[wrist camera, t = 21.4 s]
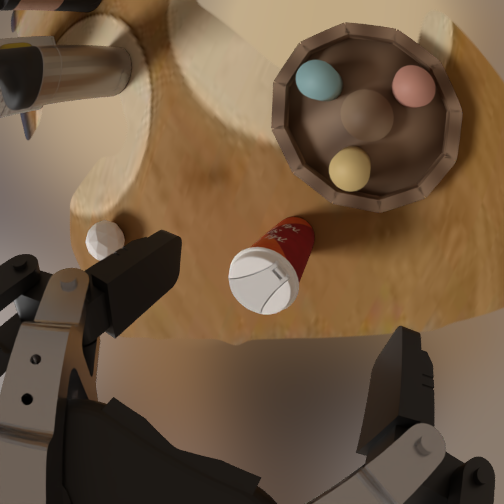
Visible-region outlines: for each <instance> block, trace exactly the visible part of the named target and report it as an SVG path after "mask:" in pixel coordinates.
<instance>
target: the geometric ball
mask: <svg viewBox="0 0 504 504" xmlns="http://www.w3.org/2000/svg"><path fill="white" fill-rule="evenodd" d="M124 242H125V239H124V235H123V232H122V231H121V229H120V228H119V227H118V225H117V224H116V223H113V222H110V221H107V220H103V221H101V222H98V223H96V224H94V225H93V226H92V227H91V229H90V230H89V231H88V234H87V238H86V245H87V248H88V251H89V253H90V254H91V255H92V256H93V257H94V258H96V259H97V260H102V259H104V258H106V257H107V256H109V255H110V254H112V253H113V254H114V252H115V251H117V250H118V249H120V248H121V249H122V247H123V246H124Z"/></svg>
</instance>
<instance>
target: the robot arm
mask: <svg viewBox="0 0 504 504" xmlns="http://www.w3.org/2000/svg"><path fill="white" fill-rule="evenodd" d="M130 74H131V59H130V56H129V54H128V53H127V51H126V50H125V49H123V48H120V47H108V46H92V45H44V46H28V47H18V48H8V49H0V89H1V93H2V96H3V100H4V102H5V104H6V105H7V107H8V108H9V109H11V110H21V109H26V108H31V107H36V106H41V105H46V104H52V103H58V102H65V101H73V100H80V99H89V98H98V97H110V96H115V95H117V94H119V93H120V92H121V91H122V90H123V89H124V88H125V86H126V85H127V83H128V81H129V78H130ZM181 246H182V240H181V238H180V237H179V236H177V235H174V234H172V233H169V232H167V231H164V230H160V231H158V232H156V233H154V234H153V235H151V236H150V237H148V238H147V237H145V238H141V239H137V240H134V241H131V242H130V243H128V244H127V245H125V246H123V247H122V249H121V248H120V249H118V250H117V251H115V252H114V254H113V253H112V254H110V255H109V256H107V257H106V258H104V259H102V260H101V261H99V262H98V263H96V264H95V265H93V266H91V267H90V268H88V269H87V270H85V271H83V270H81V269H77V268H66V269H63V270H60V271H58V272H56V273H55V274H50V273H47V272H43V271H40V269H39V265H38V260H37V258H36V257H34V256H33V255H30V254H22V255H18V256H15V257H13V258H11V259H10V260H8V261H6V262H5V263H3V264H2V265H0V311H1V310H3V308H5V307H6V306H7V305H9V304H10V303H11V302H14V304H15V307H16V310H17V313H16V314H15V315H14V316H13V317H11V318H10V319H9V320H8V321H6V322H5V323H4V324H3V325H2V326H0V377H1V376H2V375H3V374H4V373H5V372H6V374H5V378H4V381H3V385H2V390H1V394H0V504H277V503H276V502H275V501H274V499H273V498H272V497H271V496H270V495H268V494H267V493H266V492H265V491H264V490H263V489H261V488H260V487H258V486H257V485H258V483H259V481H260V479H261V477H259V476H256V475H254V474H251V473H249V472H246V471H244V470H242V469H239V468H237V467H235V466H232V465H230V464H228V463H226V462H224V461H222V460H218V459H213V458H209V457H205V456H201V455H197V454H193V453H190V452H186V451H182V450H179V449H177V448H175V447H174V446H173V445H171V444H170V443H169V442H168V441H167V440H166V439H165V438H164V437H163V436H162V435H161V434H160V433H159V432H158V431H157V430H156V429H155V428H154V427H153V426H152V425H151V424H150V423H149V422H148V421H147V420H146V419H145V418H144V417H142V416H141V415H139V414H137V413H136V412H134V411H133V410H132V409H130V408H129V407H127V406H125V405H124V404H122V403H121V402H119V401H118V400H117V399H115V398H114V397H113V398H112V399H111V400H110V402H109V403H108V404H105V403H102V402H98V396H97V389H96V379H97V367H98V357H99V348H100V335H101V334H102V333H104V332H106V333H108V334H109V335H111V336H112V337H114V338H116V337H117V336H119V335H120V334H121V333H122V332H123V331H124V330H125V329H126V328H128V327H129V326H130V325H131V324H132V323H133V322H134V321H135V320H136V319H137V318H139V317H140V316H141V315H142V314H143V313H144V312H145V311H146V310H148V309H149V308H150V307H151V306H152V305H153V304H154V303H155V302H157V301H158V300H159V299H160V298H161V297H162V296H163V295H164V294H166V293H167V292H168V291H169V290H170V289H171V288H172V287H173V286H174V285H175V283H176V281H177V279H178V276H179V272H180V258H181ZM433 388H434V380H433V364H432V362H431V360H430V357H429V356H428V353H427V352H426V351H423V350H421V337H420V333H419V332H416V331H413V330H411V329H408V328H405V327H403V326H399V327H398V328H397V329H396V330H395V332H394V333H393V335H392V336H391V338H390V339H389V341H388V343H387V344H386V345H385V347H384V349H383V350H382V352H381V353H380V354H379V356H378V358H377V359H376V362H375V364H374V366H373V369H372V373H371V379H370V386H369V392H368V398H367V403H366V409H365V414H364V419H363V424H362V428H361V433H360V438H359V442H358V446H357V450H356V453H359V454H363V455H366V456H367V457H366V462H365V464H364V465H362V466H361V467H360V468H358V469H357V470H356V471H354V472H353V473H352V474H350V475H349V476H347V477H346V478H345V479H343V480H342V481H340V482H339V483H337V484H336V485H334V486H333V487H331V488H330V489H329V490H327V491H325V492H324V493H322V494H320V495H319V496H318V497H316V498H314V499H312V500H311V501H309V502H307V503H305V504H493V502H494V489H495V474H494V470H493V467H492V466H491V464H490V463H489V462H488V461H487V460H486V459H484V458H482V457H474V458H472V459H470V460H469V461H467V462H466V463H463V462H462V461H460V460H458V459H457V458H455V457H453V456H452V455H450V454H448V453H447V452H446V447H445V446H446V445H445V441H444V438H443V436H442V435H441V433H440V432H439V431H438V430H437V429H436V428H435V427H434V390H433Z"/></svg>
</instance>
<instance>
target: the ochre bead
mask: <svg viewBox="0 0 504 504" xmlns="http://www.w3.org/2000/svg"><path fill="white" fill-rule="evenodd" d="M370 170H371V161H370V158H369V156H368V154H367V153H366V152H365V151H364V150H363V149H361V148H359V147H356V146H348V147H345V148H343V149H342V150H340V151H339V152H338V153H337V154H336V155H335V156H334V157H333V159H332V160H331V162H330V165H329V174H330V178H331V180H332V181H333V183H334V184H335V185H336V186H337V187H338V188H340V189H342V190H345V191H357V190H359V189H361V188H363V187H364V186H365V185H366V184H367V182H368V180H369V177H370Z"/></svg>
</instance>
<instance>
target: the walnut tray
mask: <svg viewBox="0 0 504 504" xmlns="http://www.w3.org/2000/svg"><path fill="white" fill-rule="evenodd" d="M310 60H321V61H324V62H327V63H328V64H330V65H331V66H332V67H333V68H334V69H335V70H336V71H337V72H338V73H339V75H340V76H341V78H342V81H343V89H342V92H341V94H340V95H339V96H338V97H337V98H336V99H334V100H332V101H319V100H315V99H311V98H309V97H307V96H305V95H304V94H302V93H301V91H300V90H299V89H298V87H297V84H296V74H297V71H298V69H299V68H300V66H301V65H303V64H304V63H305V62H307V61H310ZM439 62H440V61H439V60H438V59H437V58H436V57H434V56H433V55H432V54H431V53H429V52H428V51H427V50H425V49H424V48H423V47H421V46H420V45H419V44H417V43H416V42H415V41H413V40H412V39H411V38H409V37H408V36H406V35H405V34H403V33H402V32H401V31H399V30H397V31H396V29H393V28H387V27H381V26H374V25H366V24H357V23H345V24H344V23H342V24H339V25H337V26H335V27H332V28H330V29H328V30H325V31H323V32H321V33H319V34H316V35H314V36H312V37H310V38H308V39H305V40H303V41H301V44H300V43H299V44H298V45H297V47H296V48H295V50H294V51H293V53H292V54H291V56H290V57H289V59H288V60H287V62H286V63H285V65H284V66H283V68H282V69H281V71H280V72H279V74H278V75H277V77H276V78H275V80H274V81H275V82H273V103H272V126H271V128H273V129H272V131H273V133H274V135H275V138H276V140H277V142H278V144H279V146H280V148H281V150H282V152H283V154H284V156H285V158H286V160H287V162H288V164H289V166H290V169H291V171H292V172H294V173H293V174H294V175H296V176H297V177H298V178H300V179H301V180H302V181H304V182H305V183H306V184H308V185H309V186H310V187H311V188H313V189H314V190H315V191H317V192H318V193H319V194H320V195H322V196H323V197H324V198H325V199H327V200H328V201H329V202H330V203H332V202H333V204H336V205H341V206H347V207H352V208H357V209H362V210H367V211H372V212H377V213H379V212H381V213H382V212H385V211H388V210H391V209H395V208H398V207H401V206H404V205H407V204H410V203H413V202H416V201H419V200H422V199H425V197H427V196H428V195H429V194H430V193H431V192H432V190H433V189H434V188H435V187H436V186H437V184H438V183H439V182H440V181H441V180H442V179H443V177H444V176H445V175H446V174H447V172H448V171H449V170H450V169H451V168H452V166H453V165H454V164H455V163H456V161H457V155H458V148H459V141H460V133H461V124H462V114H463V112H461V111H462V108H461V105H460V103H459V101H458V98H457V96H456V93H455V91H454V89H453V86H452V84H451V82H450V80H449V78H448V75H447V73H446V71H445V69H444V67H443V65H442V63H439ZM408 65H415V66H419V67H421V68H423V69H424V70H426V71H427V72H428V73H429V74H430V75H431V77H432V79H433V81H434V83H435V95H434V98H433V99H432V101H431V102H430V103H429V104H427V105H425V106H421V107H417V108H408V107H405V106H403V105H401V104H400V103H399V102H398V101H397V100H396V99H395V98H394V96H393V93H392V87H391V86H392V82H393V79H394V77H395V75H396V73H397V72H398V70H399V69H401V68H402V67H404V66H408ZM348 146H356V147H359V148H361V149H363V150H364V151H365V152H366V153H367V154H368V156H369V158H370V161H371V170H370V177H369V180H368V182H367V184H366V185H365V186H364V187H363V188H361V189H359V190H357V191H345V190H342V189H340V188H338V187H337V186H336V185H335V184H334V183H333V181H332V180H331V178H330V174H329V165H330V162H331V160H332V159H333V157H334V156H335V155H336V154H337V153H338V152H339V151H340V150H342V149H343V148H345V147H348ZM455 160H456V161H455ZM424 196H425V197H424Z"/></svg>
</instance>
